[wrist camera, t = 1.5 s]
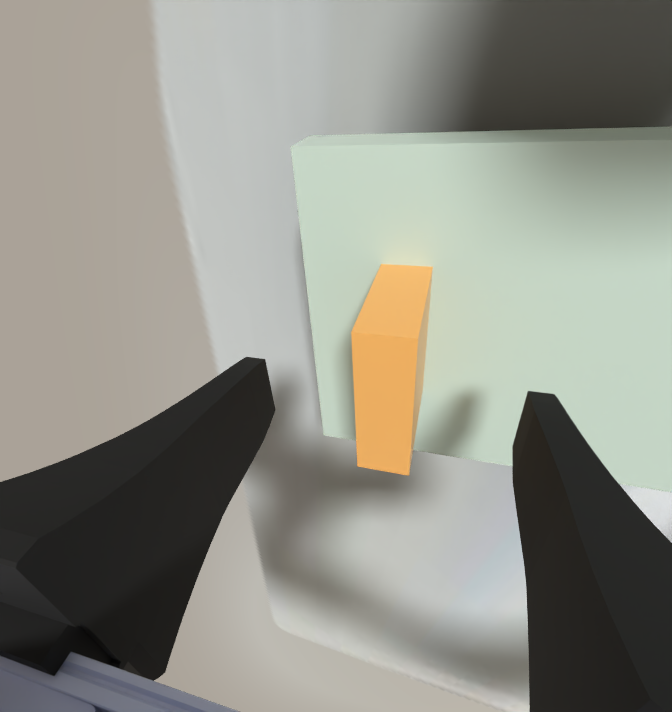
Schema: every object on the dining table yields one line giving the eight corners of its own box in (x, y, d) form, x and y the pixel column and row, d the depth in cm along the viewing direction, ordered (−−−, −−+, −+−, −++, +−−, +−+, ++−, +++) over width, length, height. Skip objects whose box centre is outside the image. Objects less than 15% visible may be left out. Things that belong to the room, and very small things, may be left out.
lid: (985, 118, 9) (1465, 191, 5) (724, 465, 16) (818, 627, 12) (310, 135, 13) (223, 183, 9) (334, 408, 20) (292, 512, 16)
